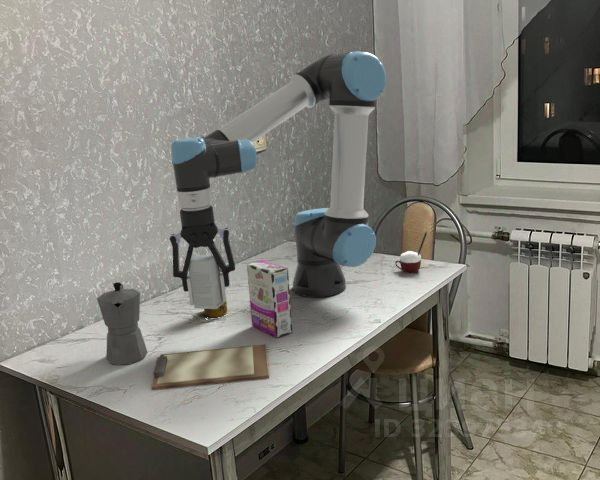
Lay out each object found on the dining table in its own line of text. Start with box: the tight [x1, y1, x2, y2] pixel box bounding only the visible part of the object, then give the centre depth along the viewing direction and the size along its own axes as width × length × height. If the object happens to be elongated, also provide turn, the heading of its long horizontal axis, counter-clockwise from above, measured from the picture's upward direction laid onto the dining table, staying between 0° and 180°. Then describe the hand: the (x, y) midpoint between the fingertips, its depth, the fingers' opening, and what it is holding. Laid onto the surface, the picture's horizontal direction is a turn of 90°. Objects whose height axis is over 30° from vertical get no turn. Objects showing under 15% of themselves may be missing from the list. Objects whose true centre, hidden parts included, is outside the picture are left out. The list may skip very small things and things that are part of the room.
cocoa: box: [394, 231, 428, 274], centre depth 197 cm, size 10×6×12 cm, turn 57°
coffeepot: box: [96, 282, 149, 366], centre depth 150 cm, size 15×9×18 cm, turn 13°
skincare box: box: [188, 254, 224, 310], centre depth 154 cm, size 6×4×12 cm
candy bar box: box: [246, 260, 293, 338], centre depth 160 cm, size 11×5×16 cm, turn 37°
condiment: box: [192, 268, 234, 323], centre depth 173 cm, size 7×8×12 cm
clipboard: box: [151, 343, 270, 391], centre depth 143 cm, size 24×16×2 cm, turn 95°
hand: (208, 301), depth 156 cm, fingers closed on skincare box, 7 cm apart
